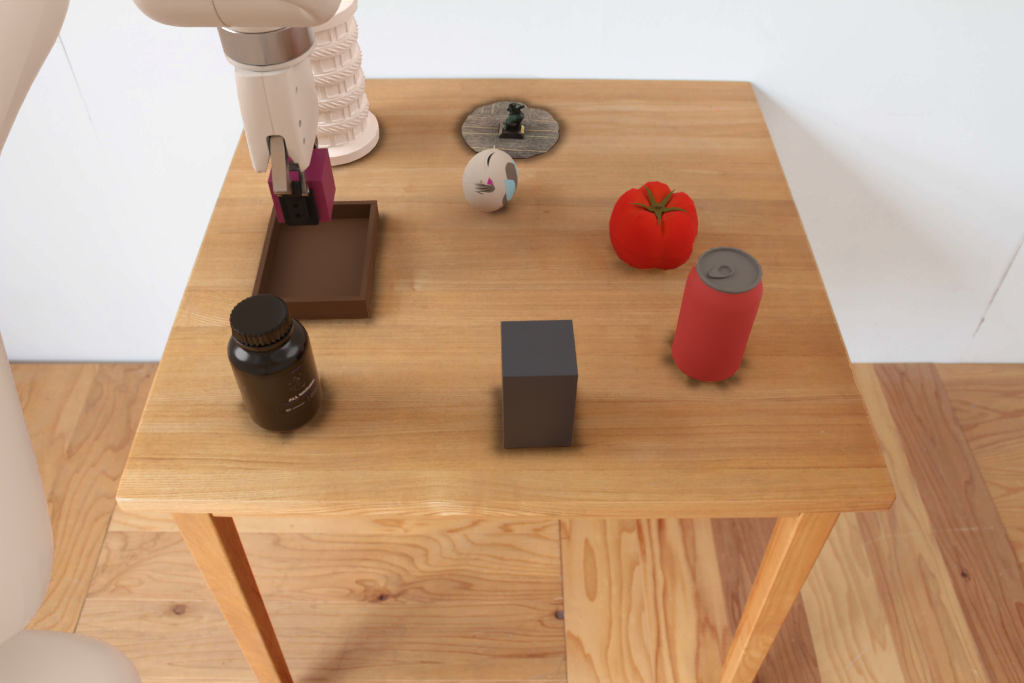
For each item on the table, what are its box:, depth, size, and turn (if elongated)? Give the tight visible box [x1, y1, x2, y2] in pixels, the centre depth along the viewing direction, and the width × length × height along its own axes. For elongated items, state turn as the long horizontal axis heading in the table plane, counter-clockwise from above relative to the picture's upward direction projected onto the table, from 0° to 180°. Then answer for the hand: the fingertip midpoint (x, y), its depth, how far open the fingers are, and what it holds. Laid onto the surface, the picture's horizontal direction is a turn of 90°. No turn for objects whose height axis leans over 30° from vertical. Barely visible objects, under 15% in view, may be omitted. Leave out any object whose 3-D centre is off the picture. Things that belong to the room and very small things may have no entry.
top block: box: [267, 148, 337, 223], centre depth 82 cm, size 5×5×5 cm
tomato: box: [608, 180, 699, 271], centre depth 88 cm, size 9×9×8 cm
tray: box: [251, 199, 380, 321], centre depth 89 cm, size 15×11×3 cm
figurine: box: [461, 145, 519, 213], centre depth 94 cm, size 8×6×7 cm
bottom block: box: [500, 319, 579, 449], centre depth 73 cm, size 6×6×10 cm
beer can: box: [671, 246, 764, 383], centre depth 77 cm, size 7×7×12 cm
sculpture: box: [461, 100, 560, 159], centre depth 106 cm, size 12×9×8 cm
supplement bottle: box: [226, 294, 324, 433], centre depth 73 cm, size 7×7×12 cm
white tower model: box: [309, 0, 380, 167], centre depth 98 cm, size 12×12×18 cm
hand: (306, 202), depth 83 cm, fingers closed on top block, 5 cm apart
